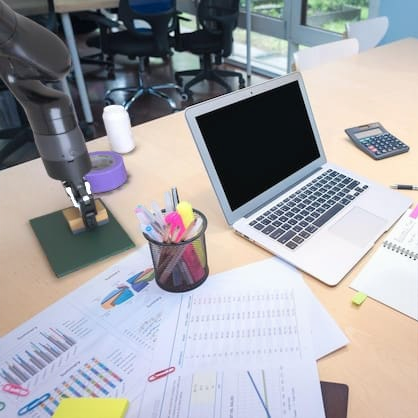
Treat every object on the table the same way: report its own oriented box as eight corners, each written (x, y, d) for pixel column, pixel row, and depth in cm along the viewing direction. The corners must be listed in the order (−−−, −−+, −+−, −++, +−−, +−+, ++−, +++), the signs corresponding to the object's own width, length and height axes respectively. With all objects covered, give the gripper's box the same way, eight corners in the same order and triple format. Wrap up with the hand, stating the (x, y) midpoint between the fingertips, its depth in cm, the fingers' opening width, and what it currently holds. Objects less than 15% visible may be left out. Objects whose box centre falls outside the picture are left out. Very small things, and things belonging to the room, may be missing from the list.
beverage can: (124, 142, 111) (114, 102, 104) (140, 148, 110) (132, 107, 102) (106, 151, 107) (95, 109, 100) (123, 157, 105) (113, 115, 98)
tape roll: (75, 171, 98) (69, 153, 95) (125, 164, 102) (121, 147, 99) (73, 197, 89) (67, 178, 86) (129, 188, 94) (124, 170, 91)
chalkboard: (58, 278, 70) (57, 275, 70) (29, 222, 82) (28, 219, 81) (135, 246, 78) (135, 244, 78) (100, 199, 90) (99, 197, 89)
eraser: (73, 235, 79) (68, 221, 76) (66, 223, 81) (61, 210, 79) (109, 222, 83) (105, 209, 80) (102, 212, 85) (98, 198, 83)
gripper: (29, 139, 73) (58, 211, 84) (51, 172, 65) (80, 247, 75) (73, 129, 78) (95, 199, 88) (98, 159, 69) (119, 232, 80)
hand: (88, 221), depth 82 cm, fingers closed on eraser, 4 cm apart
